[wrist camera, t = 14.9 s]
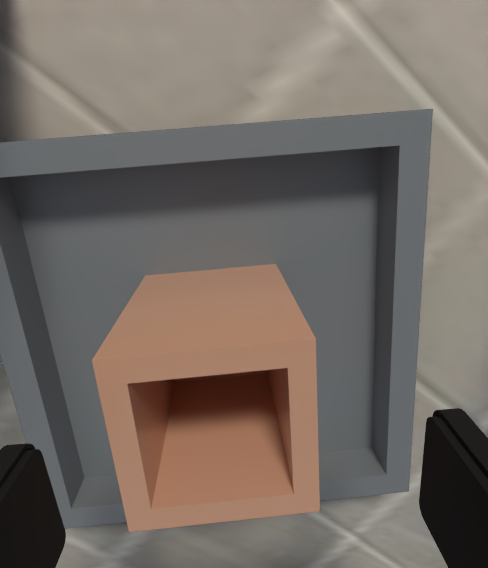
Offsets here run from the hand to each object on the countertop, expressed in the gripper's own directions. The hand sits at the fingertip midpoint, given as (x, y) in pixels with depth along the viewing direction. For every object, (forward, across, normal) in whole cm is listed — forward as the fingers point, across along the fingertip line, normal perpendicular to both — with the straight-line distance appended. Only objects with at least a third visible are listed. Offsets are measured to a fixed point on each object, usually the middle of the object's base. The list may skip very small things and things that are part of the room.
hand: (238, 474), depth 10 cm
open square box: (+10, +1, +1) cm, 10 cm away
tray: (+11, +1, +1) cm, 11 cm away
